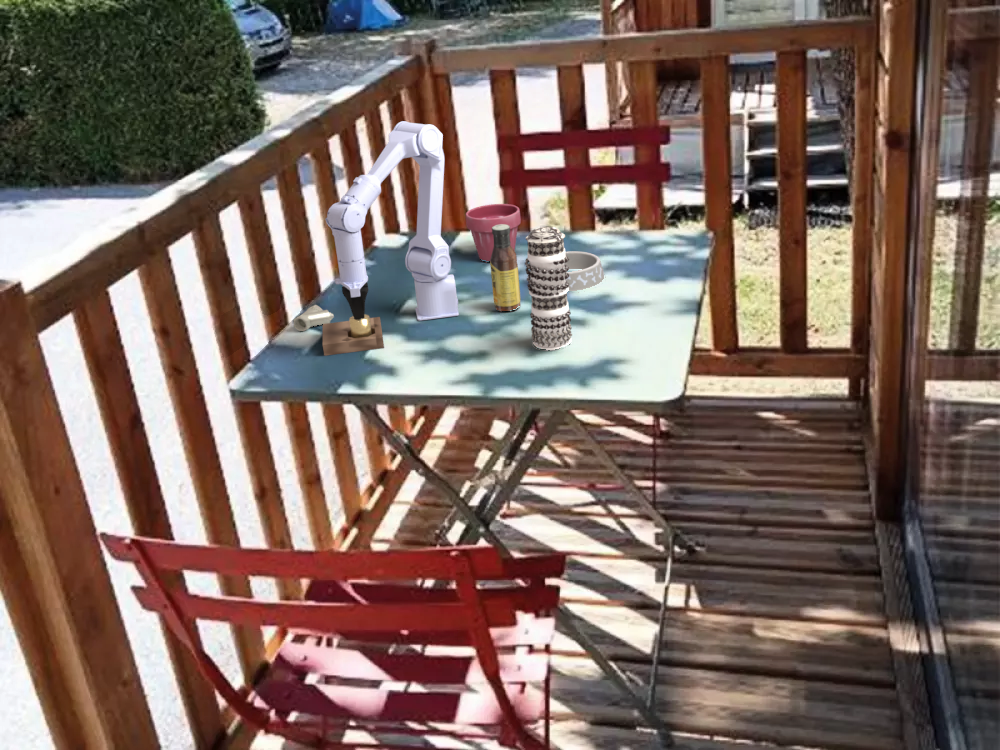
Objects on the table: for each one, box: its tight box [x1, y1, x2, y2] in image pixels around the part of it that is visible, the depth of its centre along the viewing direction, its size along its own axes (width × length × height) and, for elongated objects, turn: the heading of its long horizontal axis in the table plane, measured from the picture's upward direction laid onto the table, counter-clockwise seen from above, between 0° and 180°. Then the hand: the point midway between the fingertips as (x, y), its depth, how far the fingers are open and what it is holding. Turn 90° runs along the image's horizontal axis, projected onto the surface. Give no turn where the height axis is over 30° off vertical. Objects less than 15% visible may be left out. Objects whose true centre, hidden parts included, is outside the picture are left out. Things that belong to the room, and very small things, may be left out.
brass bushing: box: [348, 313, 372, 338], centre depth 249 cm, size 4×4×6 cm
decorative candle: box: [524, 226, 573, 351], centre depth 236 cm, size 9×9×25 cm
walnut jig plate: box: [322, 316, 385, 357], centre depth 251 cm, size 13×13×2 cm
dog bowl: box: [564, 250, 605, 291], centre depth 276 cm, size 17×18×5 cm
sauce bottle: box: [489, 224, 521, 312], centre depth 259 cm, size 7×6×20 cm
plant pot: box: [465, 203, 522, 261], centre depth 296 cm, size 14×14×13 cm
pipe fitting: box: [293, 304, 335, 332], centre depth 262 cm, size 8×4×7 cm
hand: (359, 317), depth 248 cm, fingers closed
